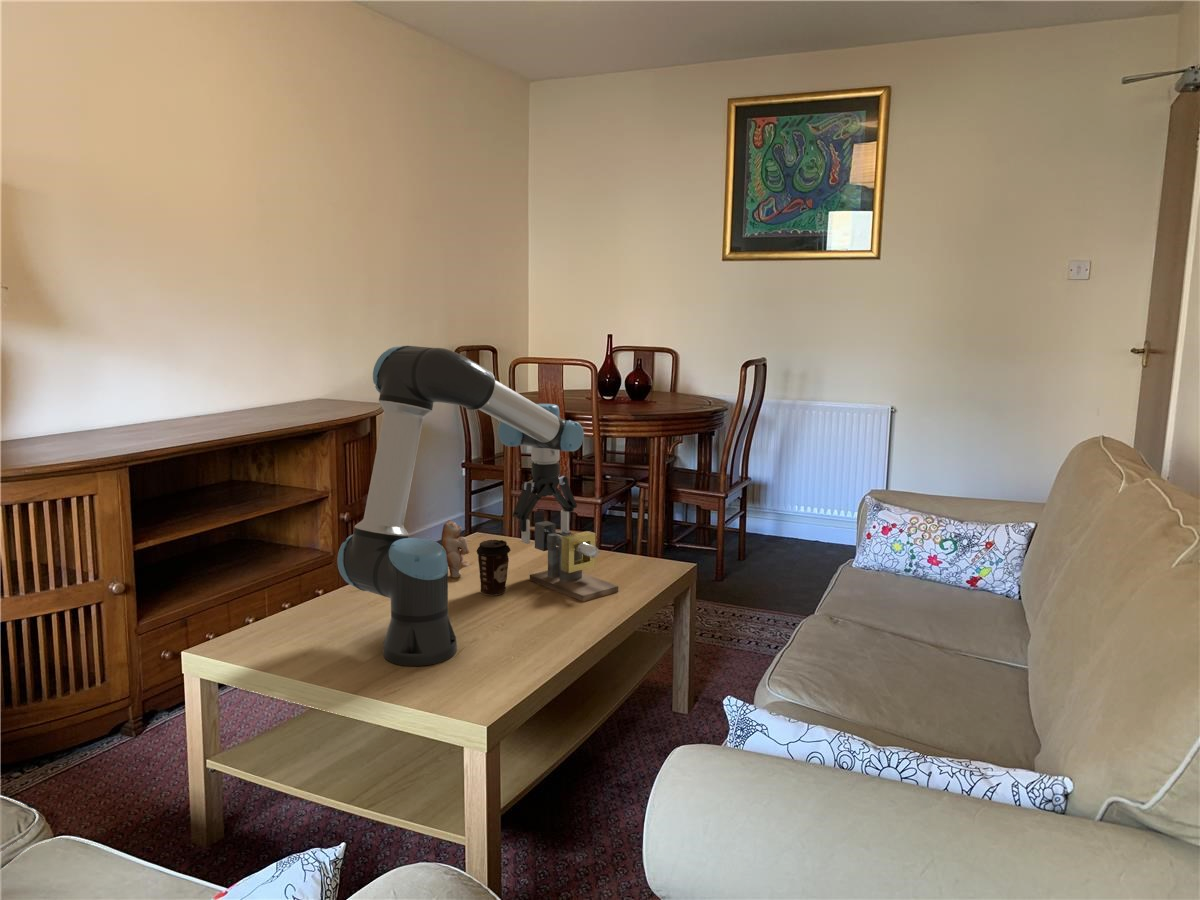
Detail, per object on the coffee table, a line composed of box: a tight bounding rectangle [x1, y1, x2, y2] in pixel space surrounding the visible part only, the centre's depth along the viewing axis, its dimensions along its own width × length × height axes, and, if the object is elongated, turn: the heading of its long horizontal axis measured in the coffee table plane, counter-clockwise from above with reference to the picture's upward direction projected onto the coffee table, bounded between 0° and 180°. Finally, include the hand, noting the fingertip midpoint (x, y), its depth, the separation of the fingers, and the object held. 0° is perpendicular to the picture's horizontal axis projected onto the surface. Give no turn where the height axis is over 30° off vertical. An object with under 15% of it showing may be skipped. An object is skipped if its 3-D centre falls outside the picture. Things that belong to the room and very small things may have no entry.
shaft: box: [534, 520, 599, 559], centre depth 222 cm, size 4×22×7 cm, turn 42°
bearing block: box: [529, 530, 619, 603], centre depth 221 cm, size 12×22×13 cm, turn 42°
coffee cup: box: [476, 539, 511, 597], centre depth 215 cm, size 9×8×13 cm
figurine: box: [441, 519, 470, 579], centre depth 228 cm, size 6×8×15 cm
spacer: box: [561, 530, 596, 573], centre depth 219 cm, size 9×3×9 cm, turn 132°
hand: (545, 538), depth 229 cm, fingers open, 13 cm apart
